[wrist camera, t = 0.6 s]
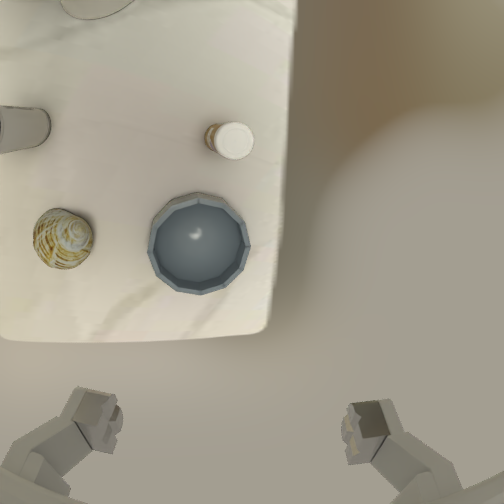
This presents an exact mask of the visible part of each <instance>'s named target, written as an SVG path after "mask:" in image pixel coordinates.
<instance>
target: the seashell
mask: <svg viewBox="0 0 504 504" xmlns="http://www.w3.org/2000/svg"><path fill="white" fill-rule="evenodd" d="M33 239H34V241H33V245H34V249H35V251H36V252H37V254H38V256H39V257H40V258H41V260H42V261H43V262H44V263H46V264H47V265H48V266H49V267H53V268H58V269H71V268H75V267H77V266H78V265H80V264H81V263H82V262H83V261H84V260H85V259H86V258H87V257H88V255H89V254H90V250H91V247H92V242H93V239H92V232H91V229H90V227H89V225H88V224H87V222H86V221H85V220H83V219H82V218H80V217H78V216H75V215H73V214H71V213H69V212H67V211H64V210H62V209H51V210H49V211H47V212H46V213H45V214H43V215H42V216H41V217H40V218H39V220H38V221H37V223H36V224H35V227H34V232H33Z"/></svg>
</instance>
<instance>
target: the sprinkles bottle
mask: <svg viewBox="0 0 504 504" xmlns="http://www.w3.org/2000/svg"><path fill="white" fill-rule="evenodd" d="M205 143H206V145H207V147H208V148H209V149H211V150H213V151H215V152H217V153H219V154H220V155H221V156H223V157H225V158H227V159H231V160H239V159H242V158H244V157H246V156H247V155H248V154H249V153H250V152H251V150H252V149H253V146H254V135H253V132H252V131H251V129H250V128H249V127H248V126H247V125H245V124H243V123H241V122H227V123H221V124H214V125H212V126H210V127H209V128H208V129H207V131H206V133H205Z"/></svg>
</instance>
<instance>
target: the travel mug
mask: <svg viewBox="0 0 504 504" xmlns="http://www.w3.org/2000/svg"><path fill="white" fill-rule="evenodd" d="M50 129H51V121H50V117H49V115H48V114H47V112H45V111H44V110H42V109H38V108H28V107H15V106H0V154H3V153H8V152H12V151H17V150H21V149H26V148H31V147H36V146H39V145H41V144H42V143H43V142H44V141H45V140H46V139H47V137H48V135H49V133H50Z"/></svg>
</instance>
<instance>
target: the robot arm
mask: <svg viewBox="0 0 504 504" xmlns="http://www.w3.org/2000/svg"><path fill="white" fill-rule="evenodd" d="M132 1H133V0H61V4H62V7H63V8H64V10H65V11H66V12H67V13H68V14H69V15H71V16H73V17H76V18H79V19H97V18H102V17H105V16H108V15H111V14H113V13H115V12H117V11H119V10H120V9H122V8H124V7H125V6H126V5H128V4H129V3H130V2H132ZM116 403H117V398H116V396H115V394H110V393H106V392H101V391H96V390H92V389H88V388H83V387H79V386H78V387H76V388H75V389H74V390H73V392H72V394H71V396H70V398H69V400H68V401H67V403H66V405H65V407H64V409H63V411H62V413H61V415H60V417H55V418H53V419H51V420H49V421H48V422H46V423H44V424H43V425H41V426H39V427H38V428H36V429H34V430H33V431H31V432H29V433H28V434H26V435H24V436H23V437H21V438H19V439H17V440H16V441H14V442H13V443H12V445H11V447H10V449H9V451H8V453H7V455H6V457H5V459H4V461H3V463H2V465H1V466H0V504H87V503H84V502H81V501H78V500H75V499H72V498H70V497H68V496H69V492H70V490H71V488H70V486H69V485H68V484H67V483H66V482H65V481H64V479H63V478H62V477H63V476H64V475H65V474H66V473H67V472H68V471H70V470H71V469H72V468H73V467H74V466H76V465H77V464H78V463H79V462H80V461H81V460H82V459H84V458H85V457H86V456H87V455H88V454H89V453H91V452H92V450H95V451H100V452H104V453H109V454H113V451H114V448H115V445H116V442H117V439H116V437H115V435H116V434H117V433H119V432H120V431H121V428H122V424H123V414H122V410H121V408H120V407H119V406H117V405H116ZM347 413H348V414H347V415H346V416H345V417H344V418H343V421H342V427H341V432H342V439H343V441H344V442H345V443H346V444H347V445H348V446H347V448H346V450H345V452H346V456H347V461H348V465H353V464H362V463H369V462H371V464H372V465H373V466H374V467H375V468H376V469H377V470H378V472H379V473H381V475H382V476H383V477H384V478H386V480H388V481H389V482H390V483H391V484H392V485H393V486H394V487H395V488H396V489H397V490H398V491H399V492H400V494H399V495H398V496H397V497H396V498H395V499H394V500H393V501H392V502H391V503H390V504H504V471H502V472H500V473H498V474H496V475H495V476H492V477H490V478H488V479H486V480H484V481H482V482H480V483H477V484H475V485H473V486H471V487H468V488H466V489H463V488H462V486H461V483H460V481H459V478H458V476H457V473H456V471H455V469H454V466H453V464H452V462H450V461H449V460H447V459H446V458H444V457H443V456H442V455H440V454H439V453H437V452H436V451H434V450H433V449H432V448H430V447H429V446H427V445H425V444H424V443H423V442H422V441H420V440H419V439H418V438H416V437H415V436H413V435H412V434H411V433H409V432H404V429H403V427H402V424H401V422H400V419H399V417H398V414H397V412H396V410H395V407H394V405H393V402H392V400H391V399H383V400H373V401H365V402H357V403H350V404H349V405H348V408H347Z"/></svg>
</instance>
